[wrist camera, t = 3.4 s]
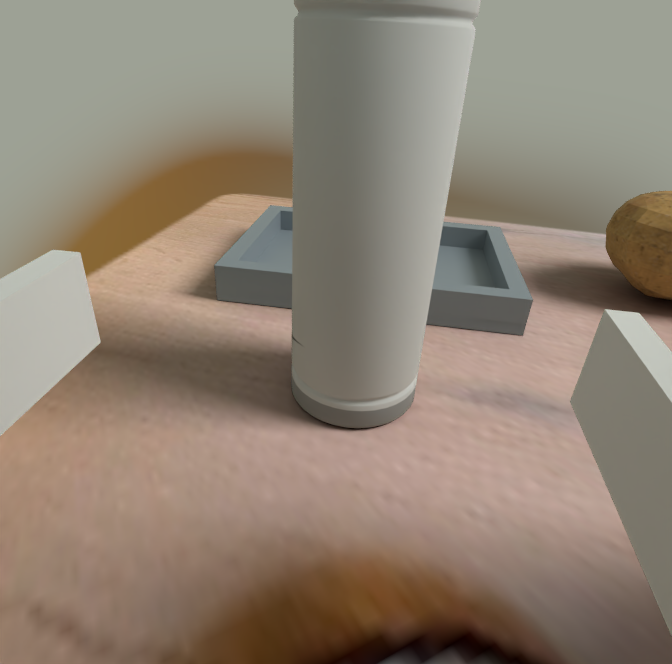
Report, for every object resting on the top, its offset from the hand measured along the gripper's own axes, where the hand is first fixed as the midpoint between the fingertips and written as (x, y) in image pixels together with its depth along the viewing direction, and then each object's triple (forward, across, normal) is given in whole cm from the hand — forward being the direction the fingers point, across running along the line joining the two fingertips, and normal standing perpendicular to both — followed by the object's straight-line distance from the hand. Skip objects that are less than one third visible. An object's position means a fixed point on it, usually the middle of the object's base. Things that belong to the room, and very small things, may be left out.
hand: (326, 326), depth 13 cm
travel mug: (+9, 0, -9) cm, 13 cm away
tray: (+24, 0, -9) cm, 26 cm away
